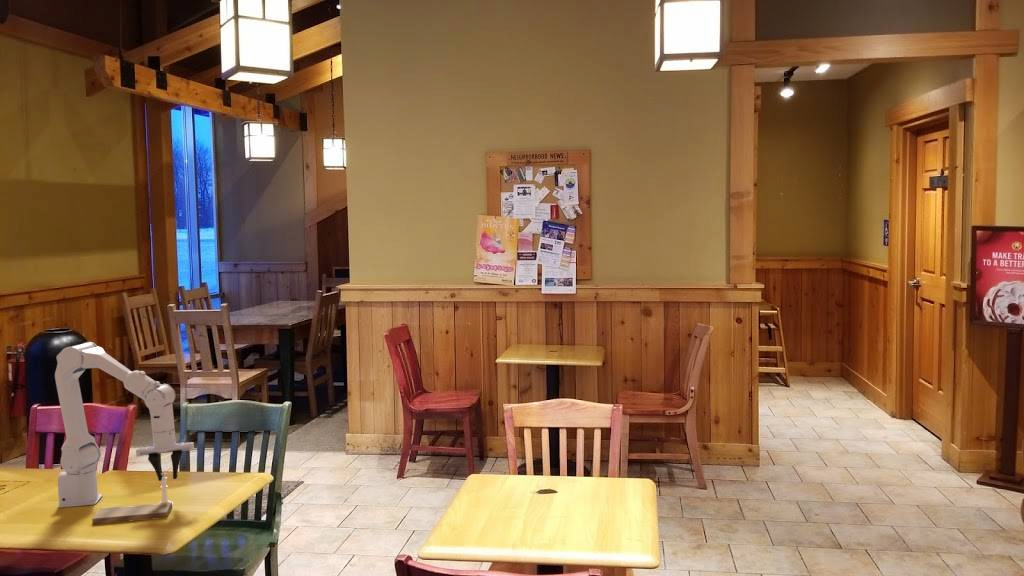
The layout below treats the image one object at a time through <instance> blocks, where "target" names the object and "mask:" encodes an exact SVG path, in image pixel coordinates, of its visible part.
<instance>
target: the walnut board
mask: <svg viewBox="0 0 1024 576" xmlns="http://www.w3.org/2000/svg"><path fill="white" fill-rule="evenodd" d="M172 502H173V501H171V502H169V503H160V502H158V503H148V504H147V503H146V504H137V505H135V504H134V505H127V506H126V505H123V506H114V507H113V506H112V507H102V508H101V507H100V508H99V509H98V511H97V512H96V513H95V514H94V515H93V517H92V519H91V521H92V522H91V523H92V525H103V524H111V523H110V522H114V523H122V522H121V521H125V522H131V521H130V520H136V521H143V520H142V519H147V520H154V519H153V518H159V519H166V518H168V517H169V515H168V514H170V513H171V511H172V509H173V504H172ZM118 521H119V522H118ZM102 523H103V524H102Z"/></svg>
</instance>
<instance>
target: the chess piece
mask: <svg viewBox="0 0 1024 576" xmlns="http://www.w3.org/2000/svg"><path fill="white" fill-rule="evenodd" d="M167 473H168V472H166V473H165V471H164V470H163V471H162V473H161V475H162V479H161V481H160V483H161V486H159V489H162V490H161V500H160V502H159V503H169V502H172V505H174V503H173V502H174V501H171V500H169V499H168V498H169V497H168V493H167V492H168V491H167V488H169V485H167V481H168V478H169V477H167V475H168V474H167Z"/></svg>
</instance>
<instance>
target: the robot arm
mask: <svg viewBox="0 0 1024 576" xmlns="http://www.w3.org/2000/svg"><path fill="white" fill-rule="evenodd" d="M56 362H57V364H56V369H55V372H54V379H55V385H56V391H57V395H58V401H59V405H60V410H61V411H60V412H61V416H62V421H63V426H64V427H63V428H64V432H65V437H66V438H65V441H64V442H63V444H62V446H61V448H60V450H61V457H60V465H61V468H62V469H63V471H61V472H60V473H59V474H58V477H57V494H58V495H57V496H58V508H68V507H79V506H80V507H81V506H93V505H96V504H97V503H98V502H99V501H100V500H101V498H102V497H103V494H102V493H100V494H99V492H98V490H99V489H98V474H97V468H98V462H99V461H100V459H101V456H102V452H101V449H100V447H99V446H98V444H97V442H96V437H94V436H93V435H91V434H90V433H89V429H88V425H87V424H88V423H87V419H86V414H85V409H84V402H83V398H82V397H83V396H82V392H81V391H82V390H81V386H80V381H79V378H80V377H81V375H82V374H83V373H84V372H85V371H86V369H100V370H102V371H103V372H105V373H107V374H108V375H110V376H111V377H114V378H116V379H118V380H119V381H121V382H122V383H123V387H124V388H125V389H126V390H128V391H129V392H130V393H132V394H134V395H136V396H137V397H138V398H140V399H142V400H143V401H144V405H145V406H146V407H147V408H148V410H149V414H150V423H151V424H150V425H151V434H152V444H153V445H149V446H144V447H143V446H142V447H137V448H136V449H135V452H136V454H135V455H136V458H138V457H141V456H148V457H147V459H148V460H147V461H148V462H149V463H150V464H151V466H152V468H153V469H154V471H155V473H156V476H157V479H158V482H161V479H162V475H161V473H162V470H163V469H162V457H161V456H162V454H167V453H169V454H170V453H171V455H170V460H171V465H172V477H173V480H176V479H177V478H178V471H179V466H180V461H181V458H182V456H183V453H184V452H187V451H189V452H193V451H194V450H195V445H194V441H193V442H192V441H190V442H177V441H176V429H175V420H174V408H173V403H174V401H175V400H176V397H177V396H176V391H175V390H174V388H173V387H172V386H171V385H170V384H167V383H163V384H161V382H160V381H158V380H154V379H152V378H151V377H150V376H148V375H146V374H147V373H146V372H145V371H144V370H132V371H131V370H130V369H129V368H127V367H126V366H125V365H123V364H122V362H121V363H120V362H119V361H118V360H116V359H115V358H114V357H112V356H111V355H110V354H108V353H107V352H106V351H105V350H104V348H103V347H101V346H98V345H97V344H96V343H95V342H92V341H86V342H83V343H81V344H76V345H72V346H67V347H64V348H63V349H62V350H61V351H60V352H59V353H58V354H57V355H56Z"/></svg>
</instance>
